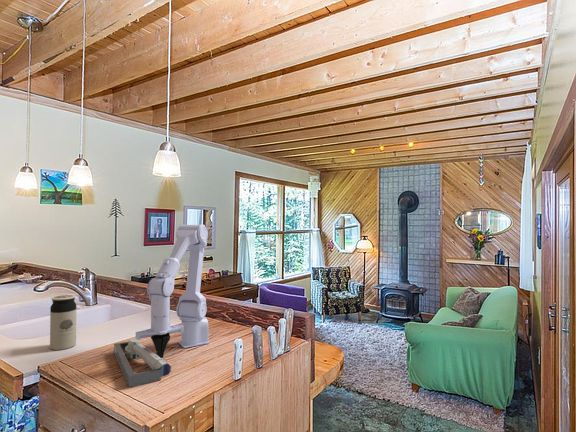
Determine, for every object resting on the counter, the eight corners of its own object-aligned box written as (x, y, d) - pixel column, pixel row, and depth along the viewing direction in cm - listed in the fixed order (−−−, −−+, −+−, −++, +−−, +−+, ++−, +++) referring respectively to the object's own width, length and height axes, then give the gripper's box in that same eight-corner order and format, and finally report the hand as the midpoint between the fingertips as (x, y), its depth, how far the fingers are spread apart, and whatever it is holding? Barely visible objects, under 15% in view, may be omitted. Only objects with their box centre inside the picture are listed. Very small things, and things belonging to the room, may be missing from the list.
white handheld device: (157, 366, 102) (122, 335, 120) (155, 388, 103) (121, 354, 120) (174, 361, 106) (138, 331, 123) (172, 382, 107) (137, 350, 124)
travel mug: (50, 345, 130) (50, 296, 130) (75, 341, 134) (76, 293, 135) (49, 352, 123) (50, 300, 124) (76, 347, 128) (76, 297, 128)
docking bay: (139, 347, 128) (139, 339, 128) (160, 380, 101) (160, 369, 102) (113, 352, 123) (113, 343, 123) (128, 387, 97) (128, 376, 97)
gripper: (138, 321, 107) (138, 367, 107) (186, 314, 115) (186, 357, 115) (134, 316, 113) (134, 359, 113) (180, 310, 121) (180, 350, 121)
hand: (160, 357), depth 114 cm, fingers closed
